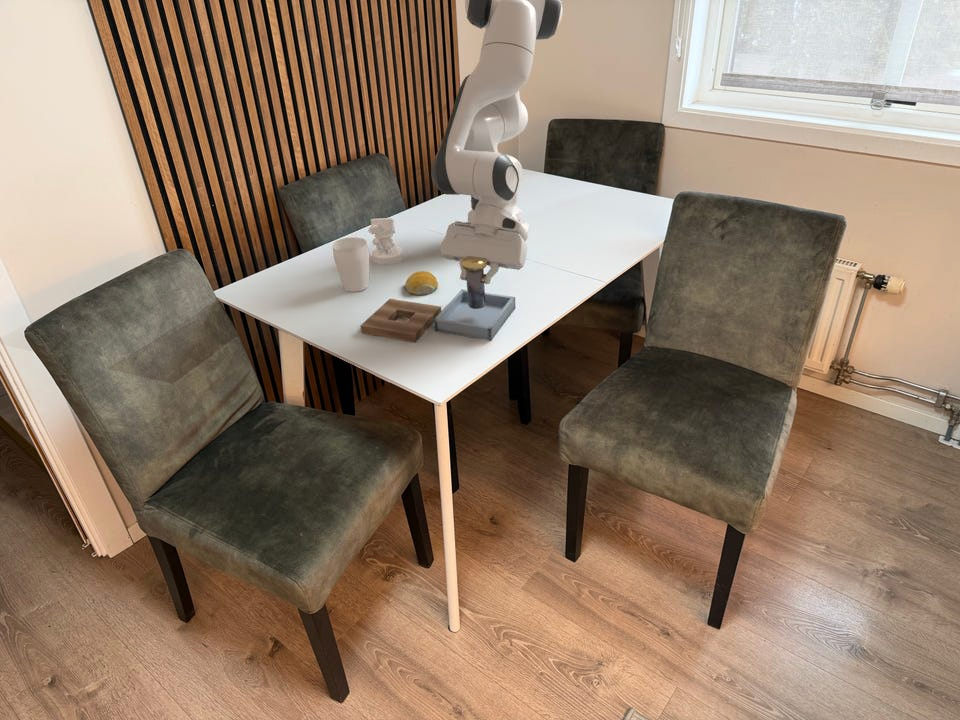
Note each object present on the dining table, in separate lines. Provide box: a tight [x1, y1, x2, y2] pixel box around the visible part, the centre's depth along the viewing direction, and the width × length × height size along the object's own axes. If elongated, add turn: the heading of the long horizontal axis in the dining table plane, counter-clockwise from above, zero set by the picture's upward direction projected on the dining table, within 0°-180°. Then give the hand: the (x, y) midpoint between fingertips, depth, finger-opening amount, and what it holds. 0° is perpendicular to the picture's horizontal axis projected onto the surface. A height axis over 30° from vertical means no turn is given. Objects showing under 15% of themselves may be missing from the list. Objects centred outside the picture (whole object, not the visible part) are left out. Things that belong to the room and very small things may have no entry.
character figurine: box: [367, 217, 404, 266], centre depth 187 cm, size 9×10×12 cm
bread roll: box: [405, 270, 439, 296], centre depth 172 cm, size 8×9×4 cm
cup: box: [331, 236, 370, 293], centre depth 172 cm, size 9×9×12 cm
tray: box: [433, 289, 516, 341], centre depth 157 cm, size 16×14×3 cm
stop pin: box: [462, 256, 488, 309], centre depth 152 cm, size 6×6×11 cm
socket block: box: [360, 298, 442, 343], centre depth 157 cm, size 14×14×2 cm
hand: (474, 281), depth 152 cm, fingers closed on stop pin, 4 cm apart
